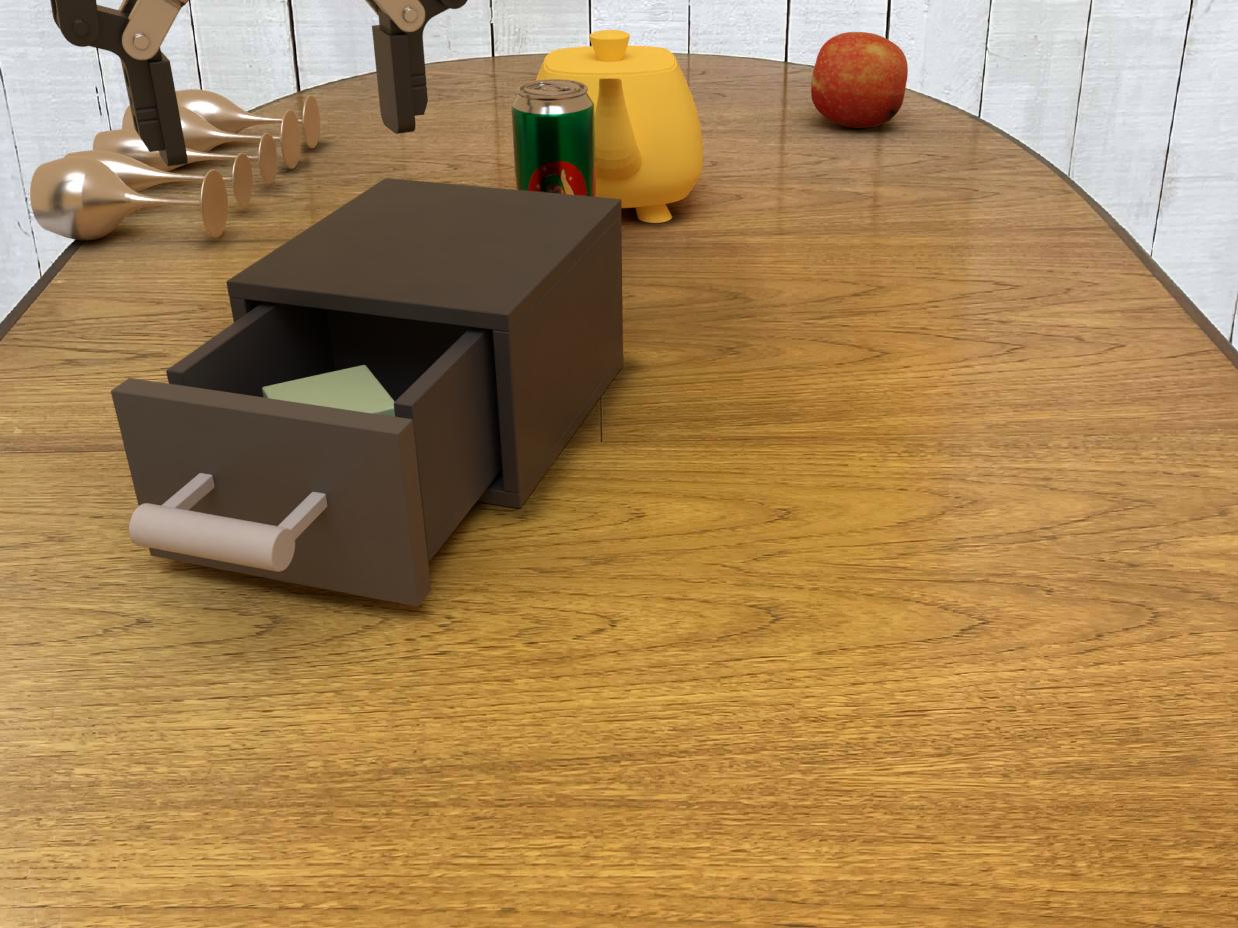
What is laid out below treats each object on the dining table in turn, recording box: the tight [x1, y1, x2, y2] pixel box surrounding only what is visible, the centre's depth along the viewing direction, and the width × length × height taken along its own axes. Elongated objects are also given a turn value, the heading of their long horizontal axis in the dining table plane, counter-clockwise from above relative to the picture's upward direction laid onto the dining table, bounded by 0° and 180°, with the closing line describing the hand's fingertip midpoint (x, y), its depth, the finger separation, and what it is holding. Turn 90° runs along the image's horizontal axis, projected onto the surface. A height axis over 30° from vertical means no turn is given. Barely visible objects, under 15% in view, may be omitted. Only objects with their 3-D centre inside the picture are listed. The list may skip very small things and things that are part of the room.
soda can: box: [511, 79, 596, 197], centre depth 79 cm, size 5×5×12 cm
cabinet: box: [226, 177, 624, 509], centre depth 63 cm, size 16×14×10 cm
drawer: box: [110, 302, 502, 607], centre depth 53 cm, size 19×12×8 cm, turn 162°
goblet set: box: [29, 88, 321, 241], centre depth 97 cm, size 28×6×13 cm
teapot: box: [535, 29, 704, 224], centre depth 90 cm, size 13×20×12 cm
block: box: [262, 365, 395, 417], centre depth 54 cm, size 5×5×5 cm
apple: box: [810, 31, 909, 129], centre depth 109 cm, size 8×8×8 cm
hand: (289, 144), depth 47 cm, fingers open, 8 cm apart
